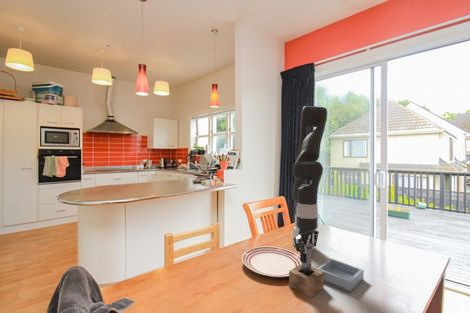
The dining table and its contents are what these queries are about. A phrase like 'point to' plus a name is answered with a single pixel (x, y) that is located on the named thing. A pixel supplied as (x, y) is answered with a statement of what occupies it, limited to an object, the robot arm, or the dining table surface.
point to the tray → (341, 275)
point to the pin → (307, 266)
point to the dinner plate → (271, 261)
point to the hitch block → (306, 281)
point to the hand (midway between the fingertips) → (306, 260)
